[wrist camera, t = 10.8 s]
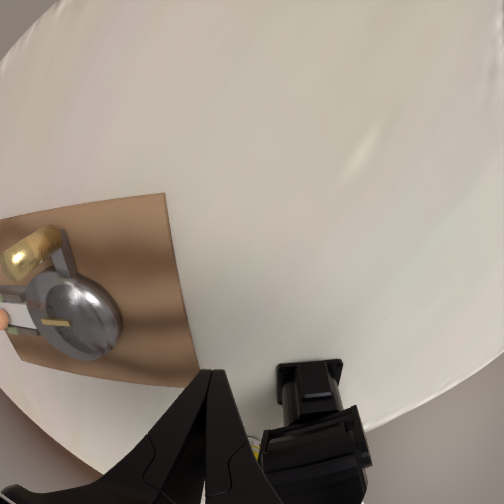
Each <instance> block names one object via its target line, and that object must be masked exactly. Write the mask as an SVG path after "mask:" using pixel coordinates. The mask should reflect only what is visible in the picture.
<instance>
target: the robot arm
mask: <svg viewBox="0 0 504 504" xmlns="http://www.w3.org/2000/svg"><path fill="white" fill-rule="evenodd" d="M342 368H343V362H342V360H341V359H335V360H326V361H316V362H304V363H290V364H280V365H279V366H278V367H277V403H278V404H279V405H283V417H284V427H282V428H277V429H273V430H270V429H269V430H264V433H263V437H262V440H261V445H260V450H259V455H258V459H256V457H255V455H254V452H253V450H252V447H251V445H250V442H249V440H248V437H247V434H246V431H245V429H244V426H243V423H242V420H241V417H240V414H239V412H238V409H237V406H236V403H235V400H234V397H233V394H232V391H231V388H230V385H229V382H228V379H227V376H226V372H225V370H223V369H214V370H211V369H201V370H200V371H199V372H198V374H197V375H196V376H195V377H194V378H193V380H192V381H191V382H190V383H189V385H188V386H187V387H186V388H185V389H184V391H183V392H182V393H181V394H180V395H179V397H178V398H177V399H176V400H175V401H174V403H173V404H172V405H171V406H170V407H169V409H168V410H167V411H166V412H165V413H164V414H163V416H162V417H161V418H160V419H159V420H158V422H157V423H156V424H155V425H154V426H153V427H152V429H151V430H150V431H149V432H148V434H146V435H145V437H144V438H143V439H142V440H141V441H140V442H139V443H138V444H137V445H136V446H135V448H134V449H133V450H132V451H131V452H129V453H128V454H127V455H126V456H125V457H124V458H123V459H122V460H121V461H120V462H118V463H117V464H116V465H115V466H114V467H113V468H111V469H110V470H109V471H108V472H107V473H105V474H104V475H103V476H102V477H100V478H99V479H98V480H96V481H94V482H93V483H90V484H88V485H85V486H80V487H76V488H71V489H66V490H61V491H56V492H49V493H34V492H31V491H28V490H27V489H25V488H23V487H22V486H20V485H18V484H14V485H11V486H8V487H6V488H4V489H3V490H2V491H1V493H2V494H4V495H5V496H6V497H7V498H9V499H10V500H12V501H13V502H15V503H16V504H200V503H201V497H202V492H203V486H204V481H205V497H206V499H205V504H361V503H362V500H363V498H364V495H365V493H366V490H367V485H368V480H367V476H366V471H365V468H368V467H370V466H373V465H372V461H371V456H370V452H369V447H368V443H367V439H366V436H365V432H364V428H363V425H362V422H361V418H360V415H359V412H358V409H357V406H356V405H354V406H351V408H348V409H345V410H343V406H342V402H341V398H340V394H339V390H338V385H339V381H340V377H341V372H342ZM0 504H11V503H9V502H8V501H6V500H5V499H4V498H2V497H1V496H0Z"/></svg>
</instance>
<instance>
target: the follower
mask: <svg viewBox="0 0 504 504" xmlns="http://www.w3.org/2000/svg"><path fill="white" fill-rule="evenodd" d="M8 324H11V325H16V326H22V327H27V328H33V329H37V327H36V326H35V324H34V323H33V321H32V319H31V316H30V314H29V311H28V308H27V304H26V299H25V300H24V301H23V302H14V301H4V302H0V330H4V329H6V328H7V326H8Z"/></svg>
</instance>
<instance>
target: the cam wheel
mask: <svg viewBox="0 0 504 504" xmlns="http://www.w3.org/2000/svg"><path fill="white" fill-rule="evenodd" d="M50 256H51V257H52V260H53V263H54V266H49V267H47V268H45V269H44V270H42V271H41V272H40V273H39V274H38V275H36V276H35V277H34V278H33V279H32V280H31V281H30V282H29V284H28V286H27V289H26V304H27V308H28V311H29V314H30V316H31V319H32V321H33V323H34V324H35V326H36V327H37V329H38V330H39V332H40V333H41V334H42V336H43V337H44V338H45V339H46V340H47V341H48V342H49V343H50V344H51V345H52V346H54V347H55V348H56V349H58V350H59V351H61V352H62V353H64V354H66V355H68V356H70V357H72V358H75V359H78V360H83V361H92V360H96V359H98V358H100V357H101V356H102V355H103V354H106V353H108V352H110V351H111V350H112V349H113V347H114V345H115V344H116V342H117V340H118V338H119V336H120V335H121V333H122V329H123V320H122V315H121V312H120V310H119V308H118V306H117V304H116V302H115V301H114V299H113V298H112V297H111V295H110V294H109V293H108V292H107V291H106V290H105V289H104V288H103V287H102V286H101V285H99V284H98V283H96V282H95V281H93V280H91V279H89V278H87V277H85V276H82V275H81V274H79V273H78V272H77V269H76V266H75V263H74V260H73V257H72V253H71V250H70V247H69V243H68V240H67V236H66V233H65V230H58V229H57V228H56V227H55V226H54V225H51V224H47V225H45V226H43V227H42V228H40V229H38V230H37V231H35V232H33V233H32V234H30V235H29V236H27V237H25V238H24V239H22V240H21V241H19V242H18V243H16V244H15V245H13V246H12V247H10V248H9V249H7V250H6V251H4V252H3V253H2V254H1V257H0V262H1V267H2V270H3V272H4V274H5V275H6V276H7V278H8V279H9V280H10V281H12V282H14V283H18V282H19V281H21V280H22V279H23V278H24V277H25V276H27V275H28V274H29V273H30V272H31V271H33V270H34V269H35V268H36V267H38V266H39V265H40V264H41V263H43V262H44V261H45V260H46V259H48V258H49V257H50Z"/></svg>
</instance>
